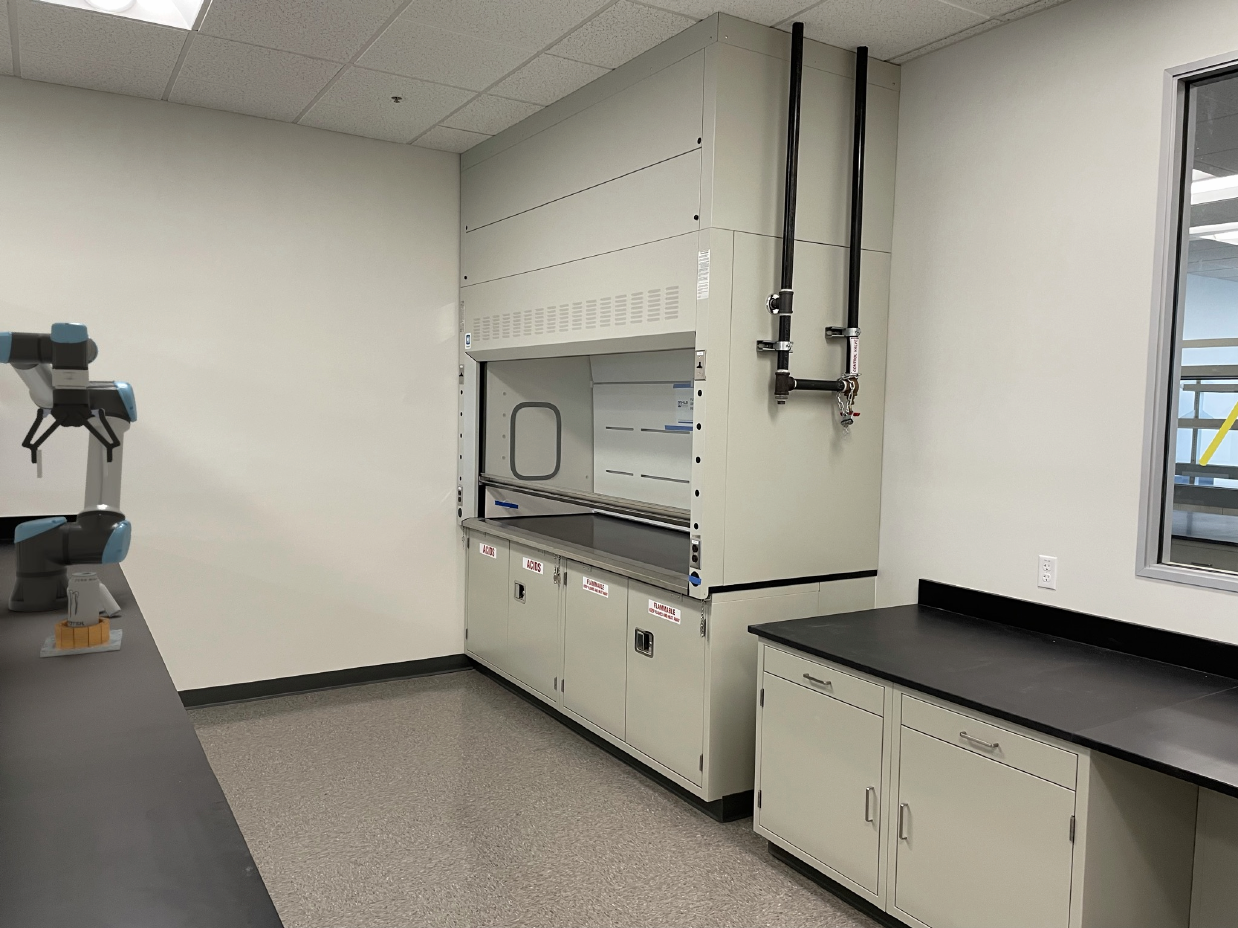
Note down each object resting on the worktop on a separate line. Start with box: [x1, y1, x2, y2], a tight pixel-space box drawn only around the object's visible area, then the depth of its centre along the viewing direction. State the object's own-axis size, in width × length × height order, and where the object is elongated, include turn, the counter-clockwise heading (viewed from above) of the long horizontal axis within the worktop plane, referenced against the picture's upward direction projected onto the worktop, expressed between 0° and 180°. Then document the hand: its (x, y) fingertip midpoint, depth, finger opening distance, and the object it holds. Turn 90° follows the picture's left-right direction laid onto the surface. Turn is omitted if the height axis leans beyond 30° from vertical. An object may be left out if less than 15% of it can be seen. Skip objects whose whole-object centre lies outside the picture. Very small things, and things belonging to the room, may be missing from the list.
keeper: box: [39, 616, 123, 658], centre depth 204 cm, size 15×15×5 cm
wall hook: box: [67, 580, 122, 618], centre depth 233 cm, size 8×10×10 cm
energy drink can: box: [67, 571, 101, 627], centre depth 204 cm, size 6×6×15 cm
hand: (73, 476), depth 218 cm, fingers open, 13 cm apart
